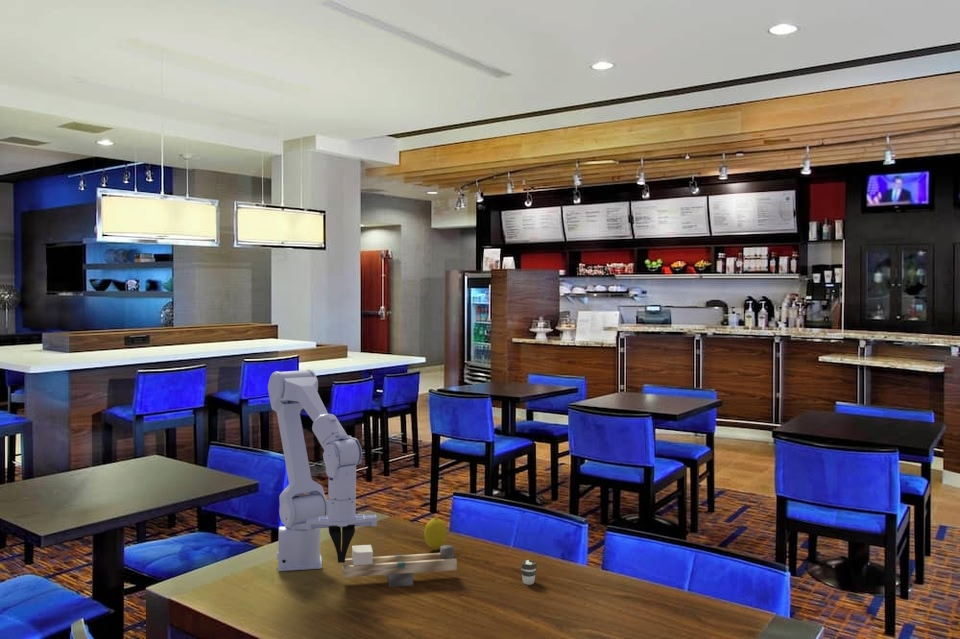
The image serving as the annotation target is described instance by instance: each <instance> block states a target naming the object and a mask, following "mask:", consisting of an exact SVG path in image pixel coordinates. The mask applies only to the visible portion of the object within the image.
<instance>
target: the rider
mask: <svg viewBox="0 0 960 639" xmlns="http://www.w3.org/2000/svg"><path fill="white" fill-rule="evenodd" d="M373 557H374V551H373V546H372V544H361V545H360V544H359V545H352V546H351V558H352V561H353V565H367V564H373Z"/></svg>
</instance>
